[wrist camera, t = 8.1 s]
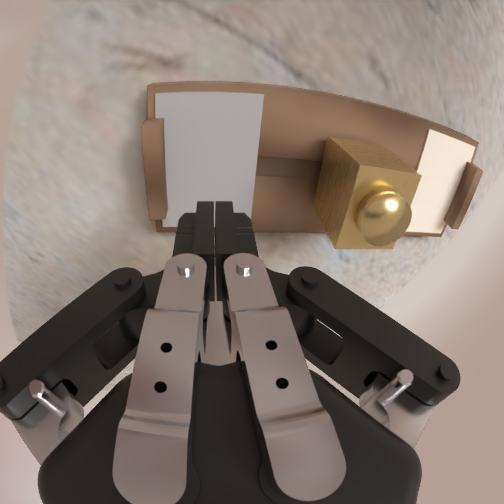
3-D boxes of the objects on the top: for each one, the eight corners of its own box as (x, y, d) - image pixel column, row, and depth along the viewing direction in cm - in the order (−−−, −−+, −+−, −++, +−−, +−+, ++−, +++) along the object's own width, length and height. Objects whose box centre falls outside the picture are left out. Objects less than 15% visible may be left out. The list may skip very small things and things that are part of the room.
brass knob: (327, 135, 15) (369, 173, 11) (382, 145, 16) (432, 184, 12) (312, 206, 18) (341, 261, 14) (363, 209, 19) (399, 260, 15)
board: (152, 83, 14) (140, 88, 11) (467, 136, 17) (490, 150, 15) (160, 220, 20) (153, 244, 18) (433, 227, 24) (449, 246, 21)
